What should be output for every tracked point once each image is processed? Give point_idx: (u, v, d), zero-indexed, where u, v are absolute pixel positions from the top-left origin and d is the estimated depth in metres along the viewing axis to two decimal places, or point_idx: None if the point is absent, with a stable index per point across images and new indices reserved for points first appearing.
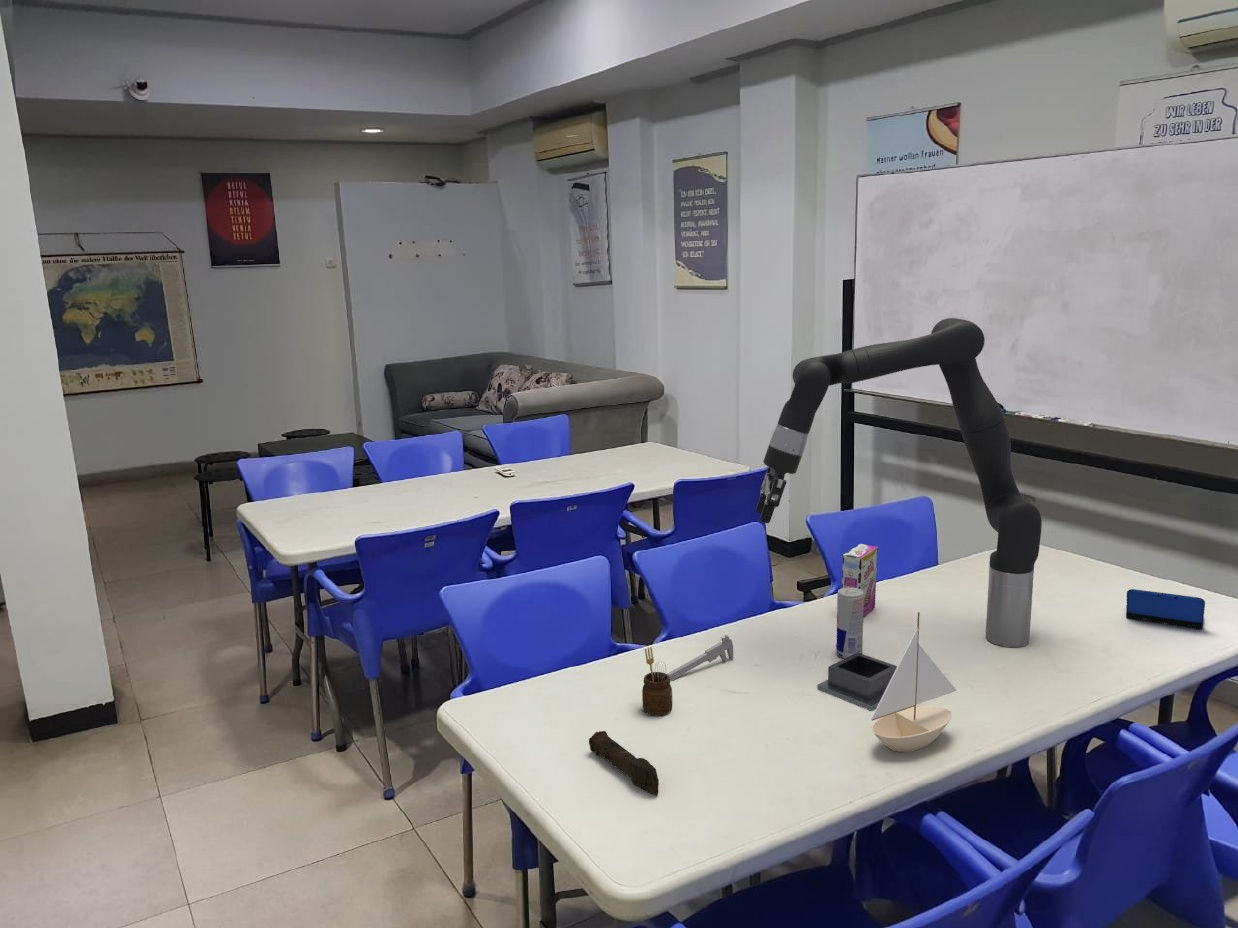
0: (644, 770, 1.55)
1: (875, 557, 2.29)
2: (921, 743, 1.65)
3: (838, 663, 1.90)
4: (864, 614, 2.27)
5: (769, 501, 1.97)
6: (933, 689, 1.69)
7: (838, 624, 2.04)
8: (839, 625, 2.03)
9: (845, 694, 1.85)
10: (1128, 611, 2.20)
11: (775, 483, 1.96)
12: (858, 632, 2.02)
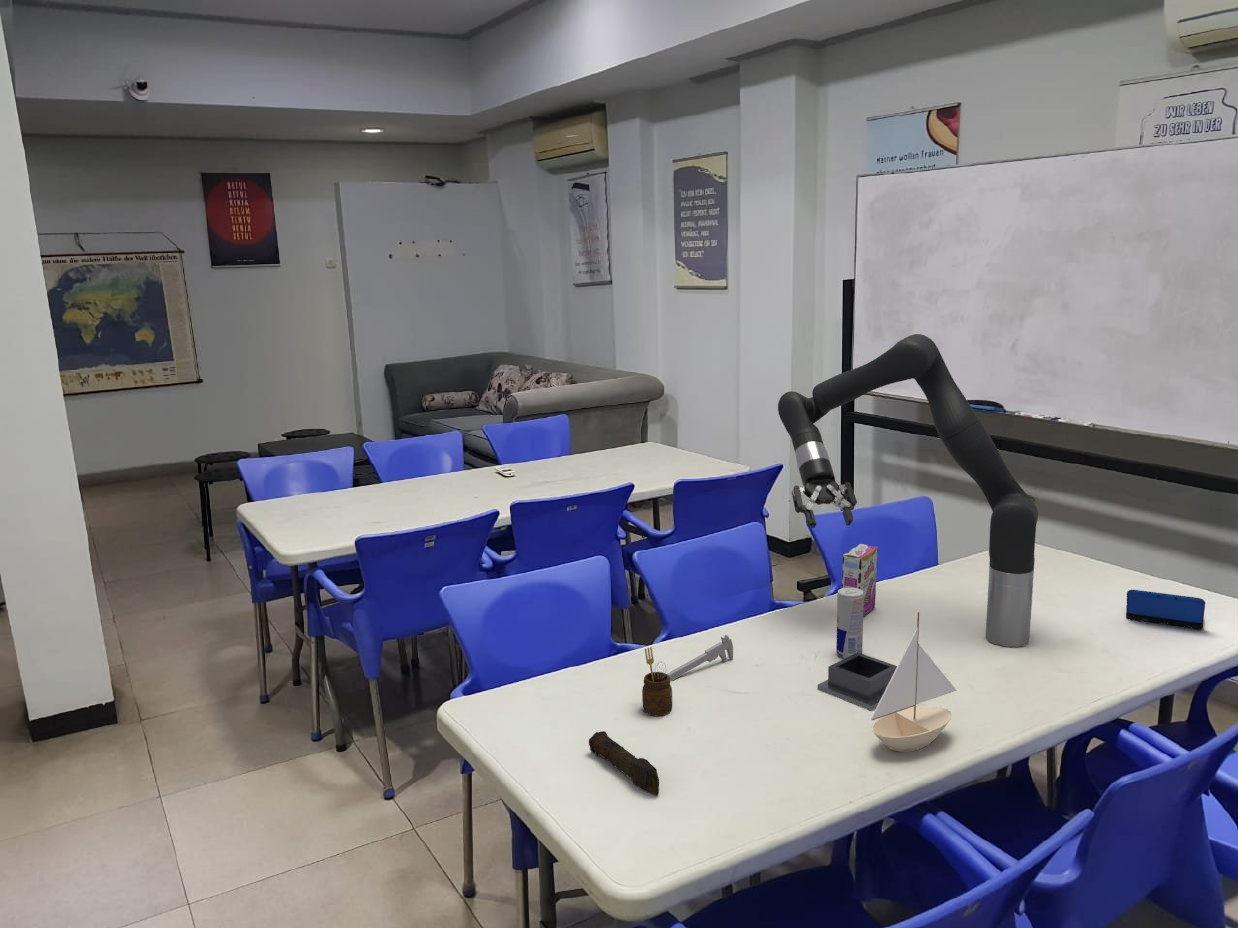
0: (645, 770, 1.55)
1: (875, 557, 2.29)
2: (921, 743, 1.64)
3: (838, 663, 1.90)
4: (864, 614, 2.27)
5: (795, 509, 2.13)
6: (933, 689, 1.69)
7: (838, 624, 2.04)
8: (839, 625, 2.03)
9: (845, 694, 1.85)
10: (1128, 611, 2.20)
11: (792, 494, 2.16)
12: (858, 632, 2.02)
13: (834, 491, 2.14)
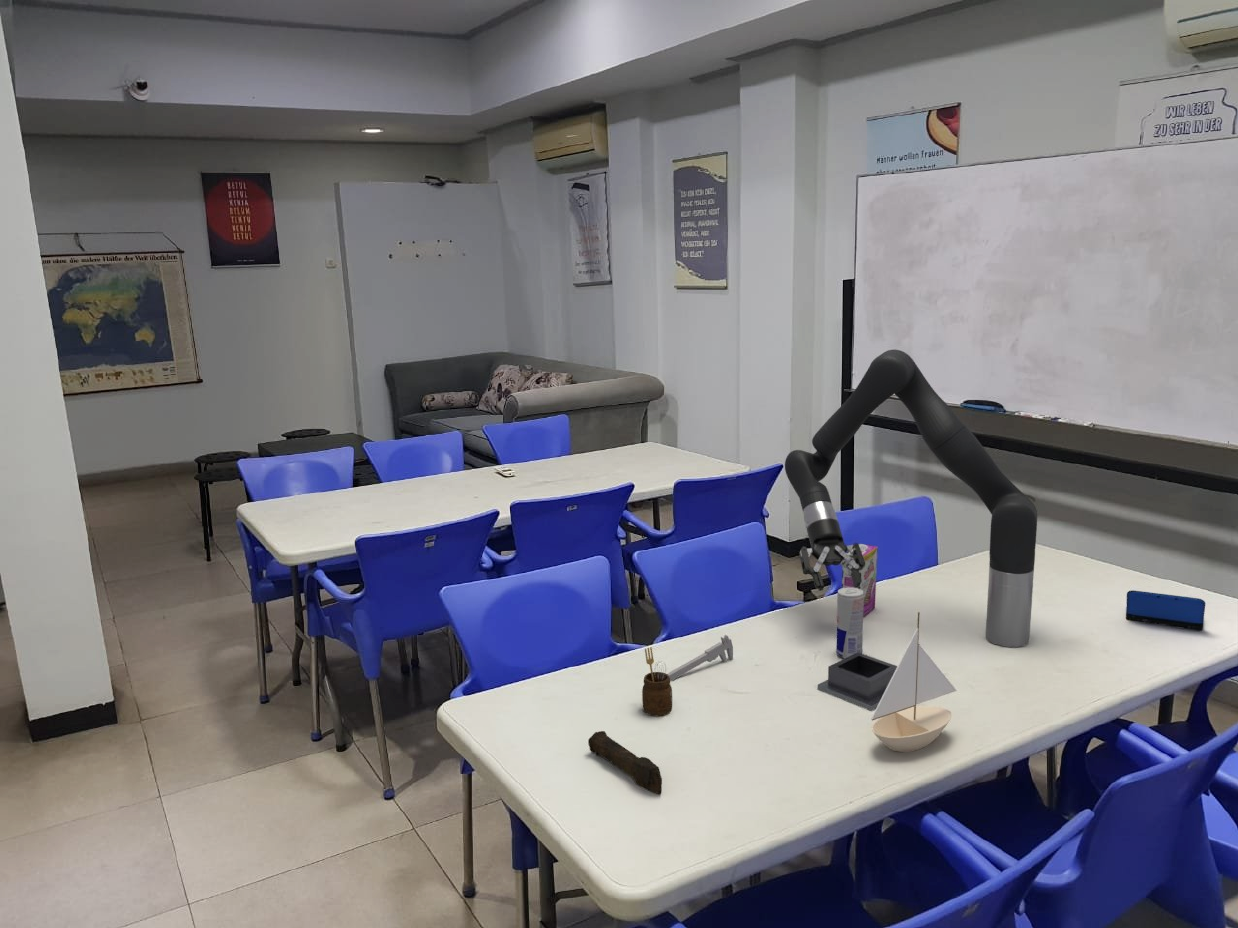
0: (647, 769, 1.55)
1: (875, 557, 2.29)
2: (921, 743, 1.65)
3: (838, 663, 1.90)
4: (864, 614, 2.27)
5: (803, 571, 2.12)
6: (933, 689, 1.69)
7: (838, 624, 2.04)
8: (839, 625, 2.03)
9: (845, 694, 1.85)
10: (1128, 612, 2.19)
11: (800, 555, 2.14)
12: (858, 632, 2.02)
13: (842, 552, 2.12)
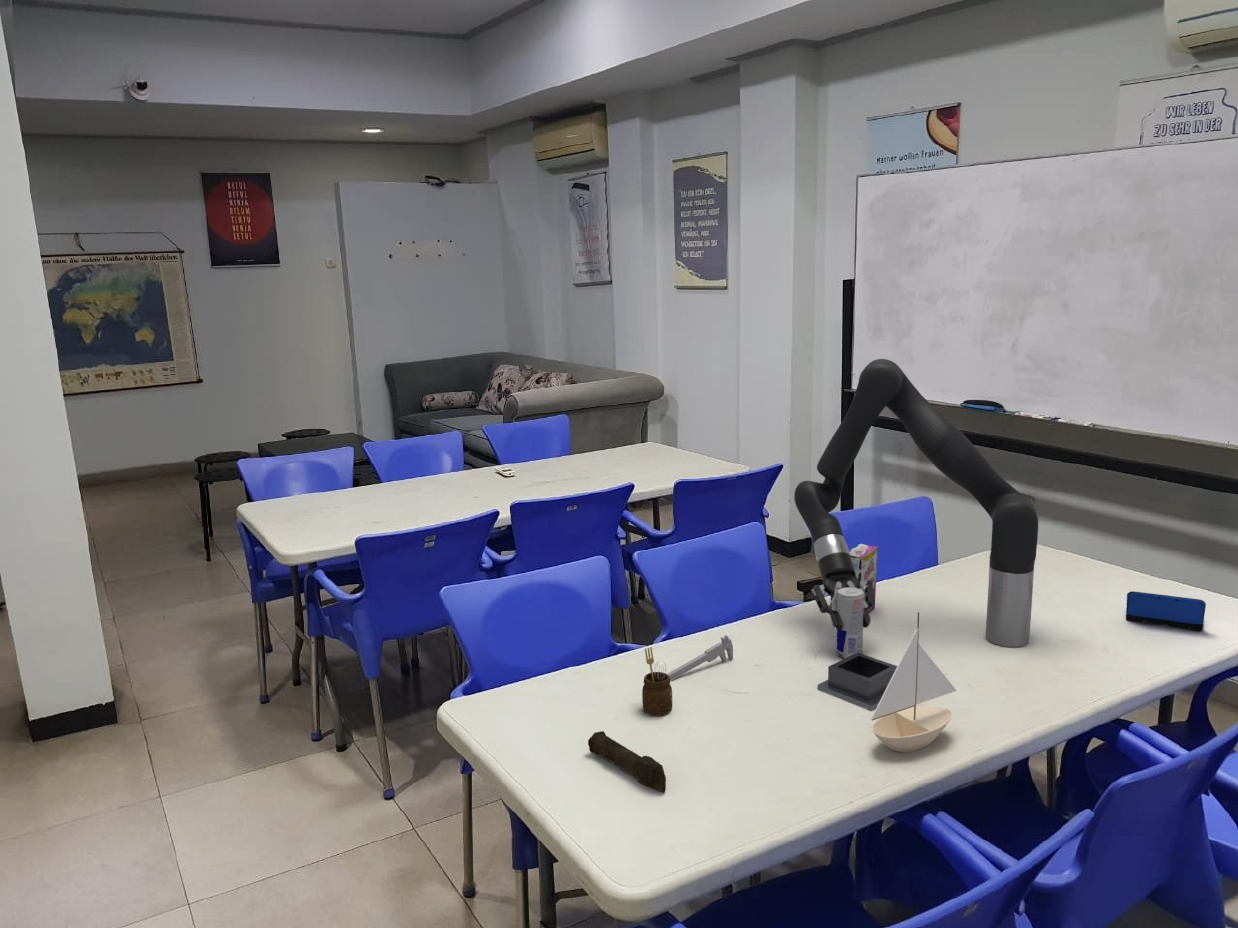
0: (651, 767, 1.55)
1: (875, 557, 2.29)
2: (921, 743, 1.65)
3: (838, 663, 1.90)
4: None
5: (820, 609, 2.05)
6: (933, 689, 1.69)
7: None
8: None
9: (845, 694, 1.85)
10: (1128, 613, 2.19)
11: (813, 594, 2.07)
12: (858, 632, 2.02)
13: None
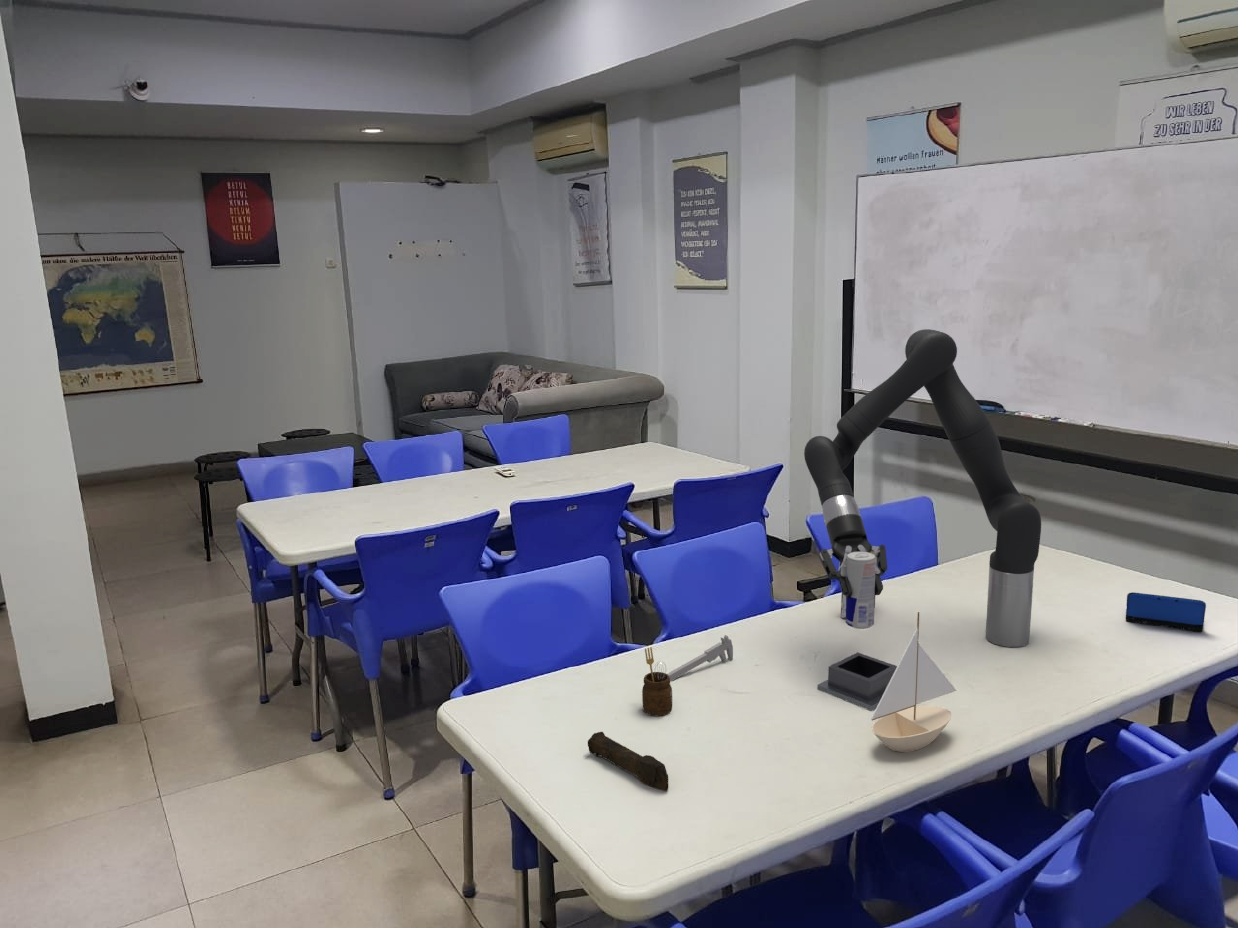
0: (654, 767, 1.56)
1: (875, 557, 2.29)
2: (921, 743, 1.65)
3: (838, 663, 1.90)
4: None
5: (828, 575, 1.89)
6: (933, 689, 1.69)
7: None
8: None
9: (845, 694, 1.85)
10: (1128, 614, 2.18)
11: (820, 559, 1.91)
12: (870, 599, 1.86)
13: None
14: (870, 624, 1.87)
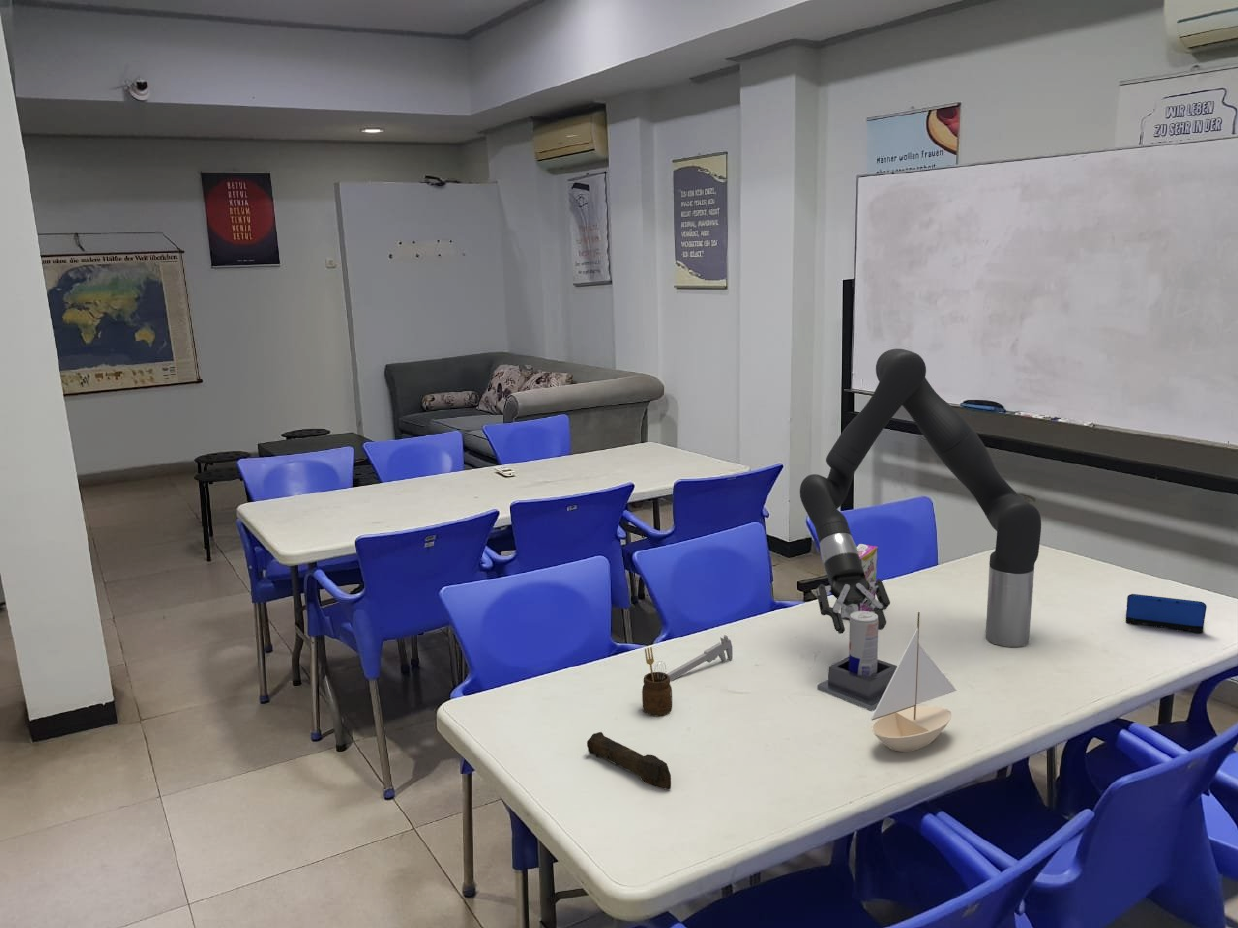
0: (656, 766, 1.56)
1: (875, 557, 2.29)
2: (921, 743, 1.65)
3: (838, 663, 1.90)
4: None
5: (821, 611, 1.91)
6: (933, 689, 1.69)
7: (851, 651, 1.87)
8: (851, 652, 1.87)
9: (845, 694, 1.85)
10: (1128, 616, 2.17)
11: (817, 593, 1.93)
12: (873, 659, 1.86)
13: (864, 590, 1.91)
14: None
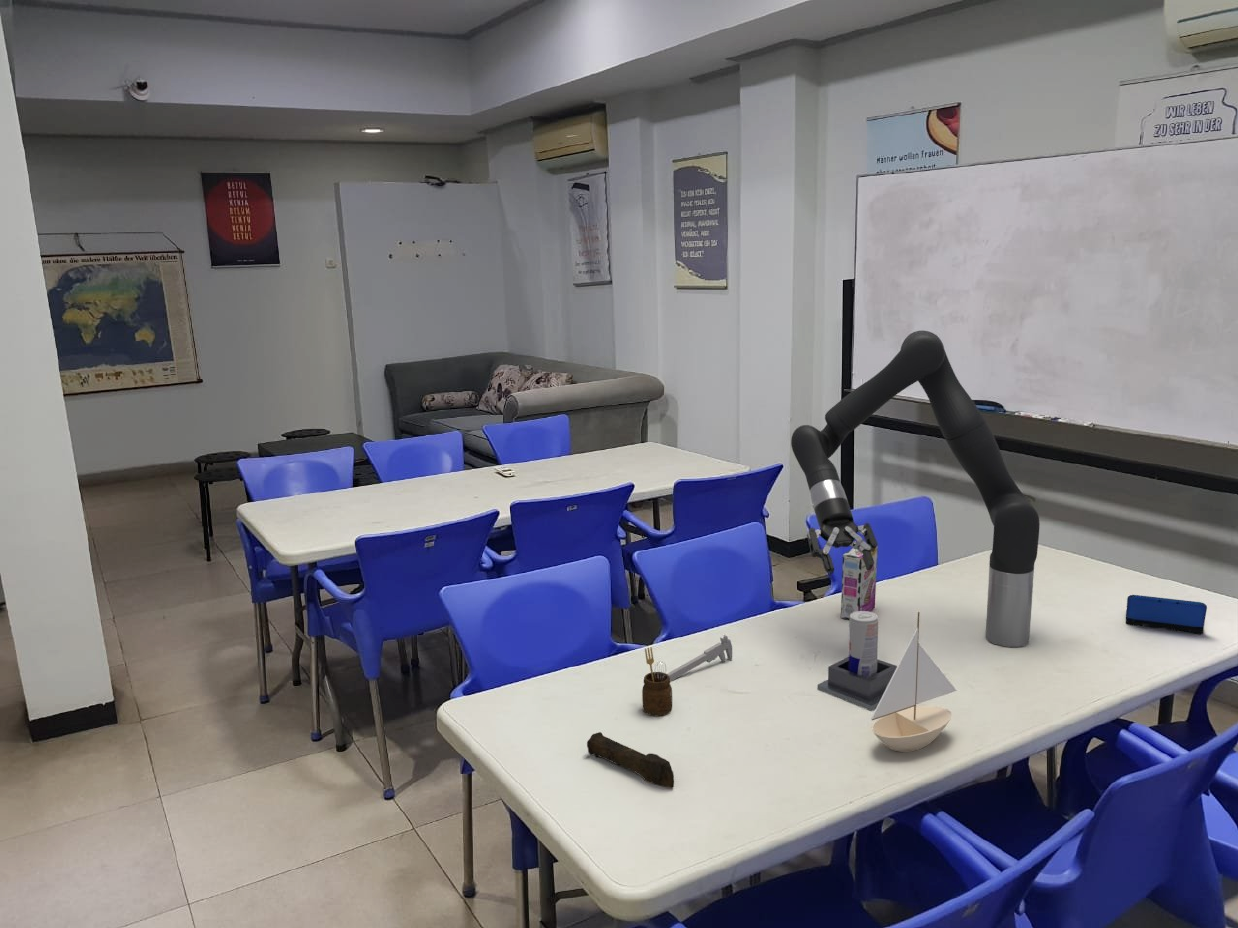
0: (659, 764, 1.56)
1: (875, 557, 2.29)
2: (921, 743, 1.65)
3: (838, 663, 1.90)
4: None
5: (811, 553, 1.99)
6: (933, 689, 1.69)
7: (850, 651, 1.87)
8: (851, 652, 1.87)
9: (845, 694, 1.85)
10: (1128, 617, 2.17)
11: (808, 537, 2.01)
12: (873, 659, 1.86)
13: (853, 533, 2.00)
14: None
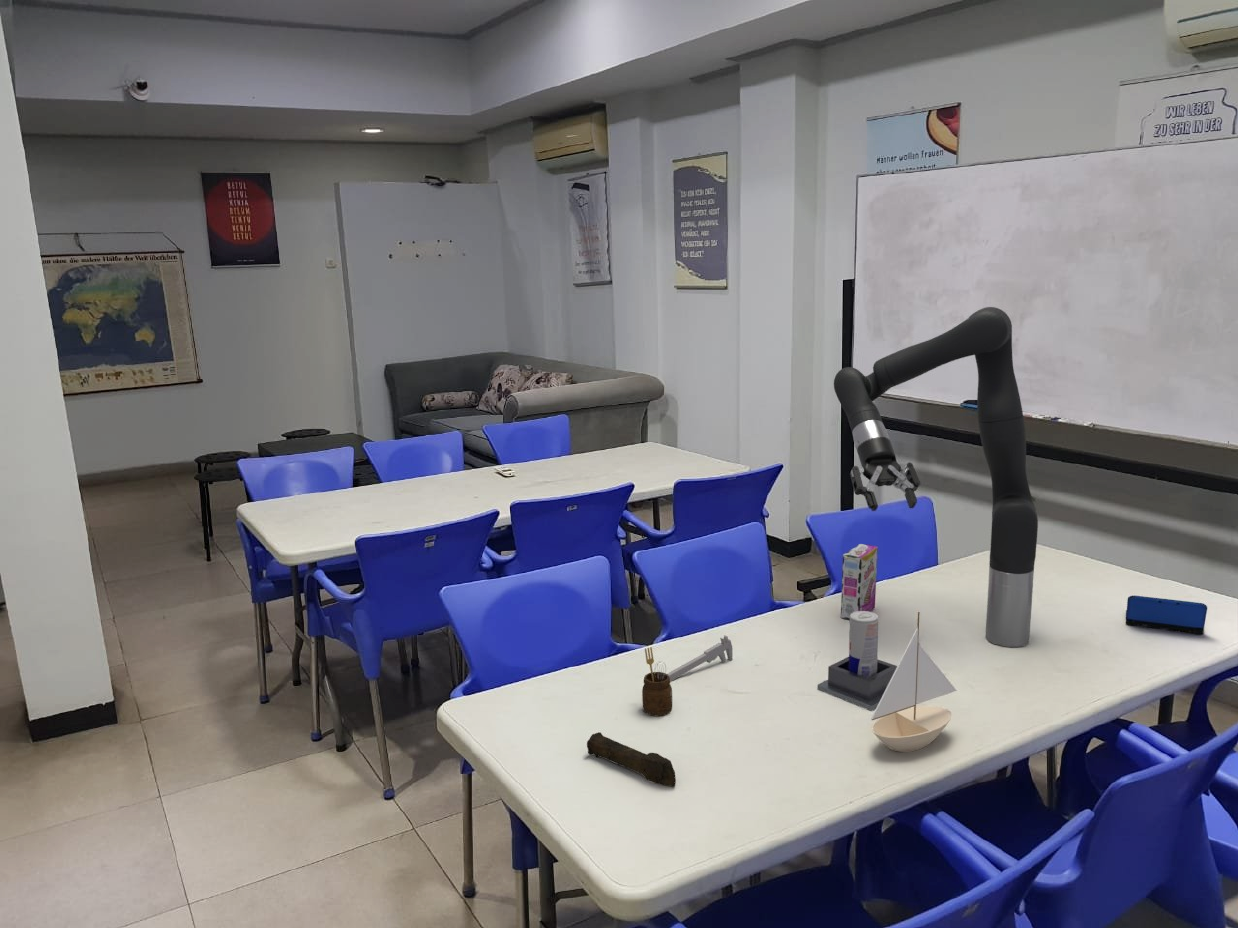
0: (660, 764, 1.56)
1: (875, 557, 2.29)
2: (921, 743, 1.65)
3: (838, 663, 1.90)
4: None
5: (854, 491, 2.01)
6: (933, 689, 1.69)
7: (850, 651, 1.87)
8: (851, 652, 1.87)
9: (845, 694, 1.85)
10: (1128, 617, 2.16)
11: (851, 475, 2.03)
12: (873, 660, 1.86)
13: (896, 472, 2.01)
14: None
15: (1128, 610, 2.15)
